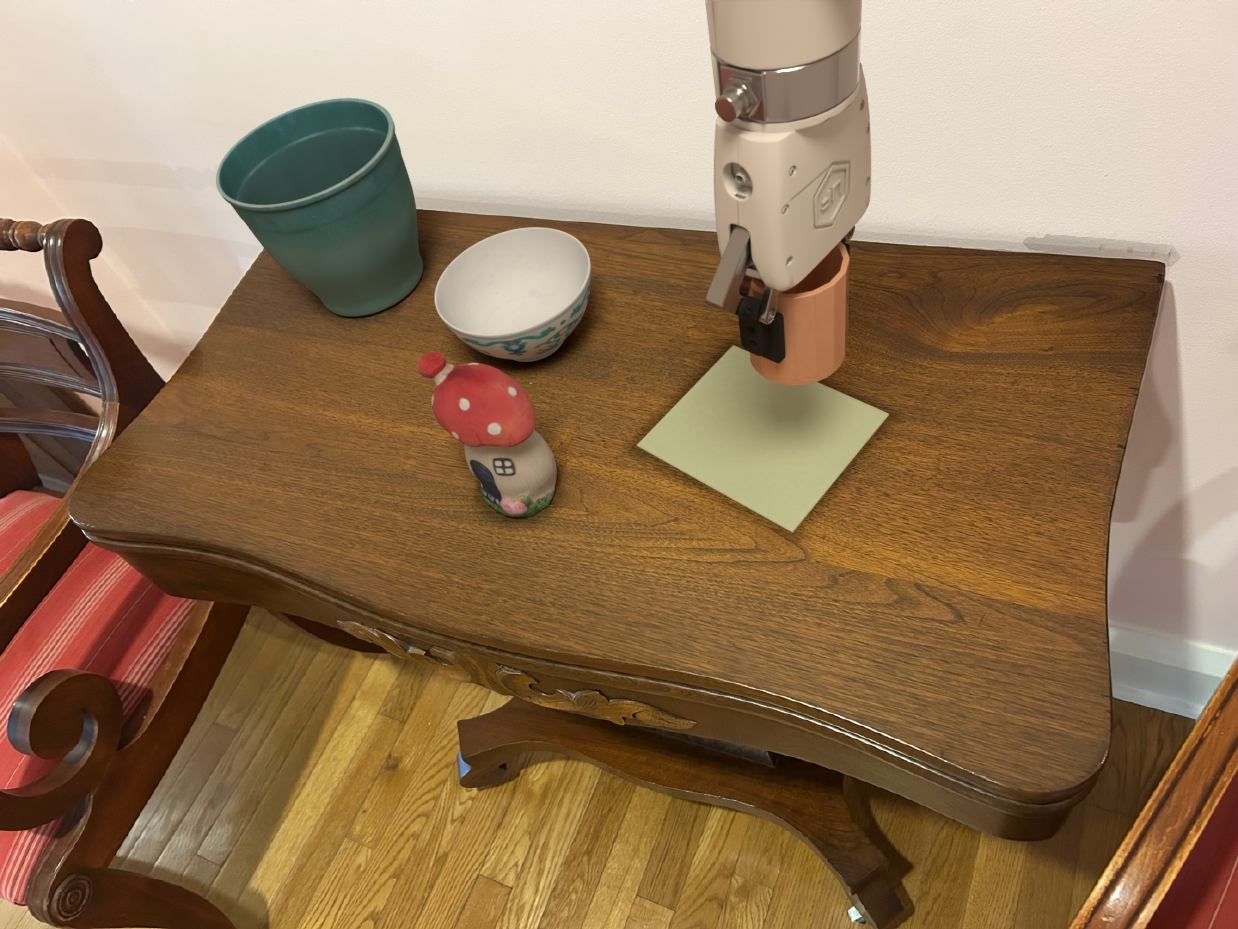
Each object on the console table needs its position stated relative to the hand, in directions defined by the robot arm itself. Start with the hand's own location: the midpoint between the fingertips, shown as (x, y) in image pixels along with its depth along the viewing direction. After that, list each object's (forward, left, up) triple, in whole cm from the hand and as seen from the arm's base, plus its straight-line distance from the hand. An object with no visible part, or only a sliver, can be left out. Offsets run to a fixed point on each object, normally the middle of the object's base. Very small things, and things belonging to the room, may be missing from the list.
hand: (795, 317), depth 58 cm
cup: (0, 0, -3) cm, 3 cm away
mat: (+4, 0, -15) cm, 16 cm away
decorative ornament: (+18, +16, -15) cm, 29 cm away
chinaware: (+30, +2, -15) cm, 34 cm away
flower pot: (+53, +5, -15) cm, 56 cm away
